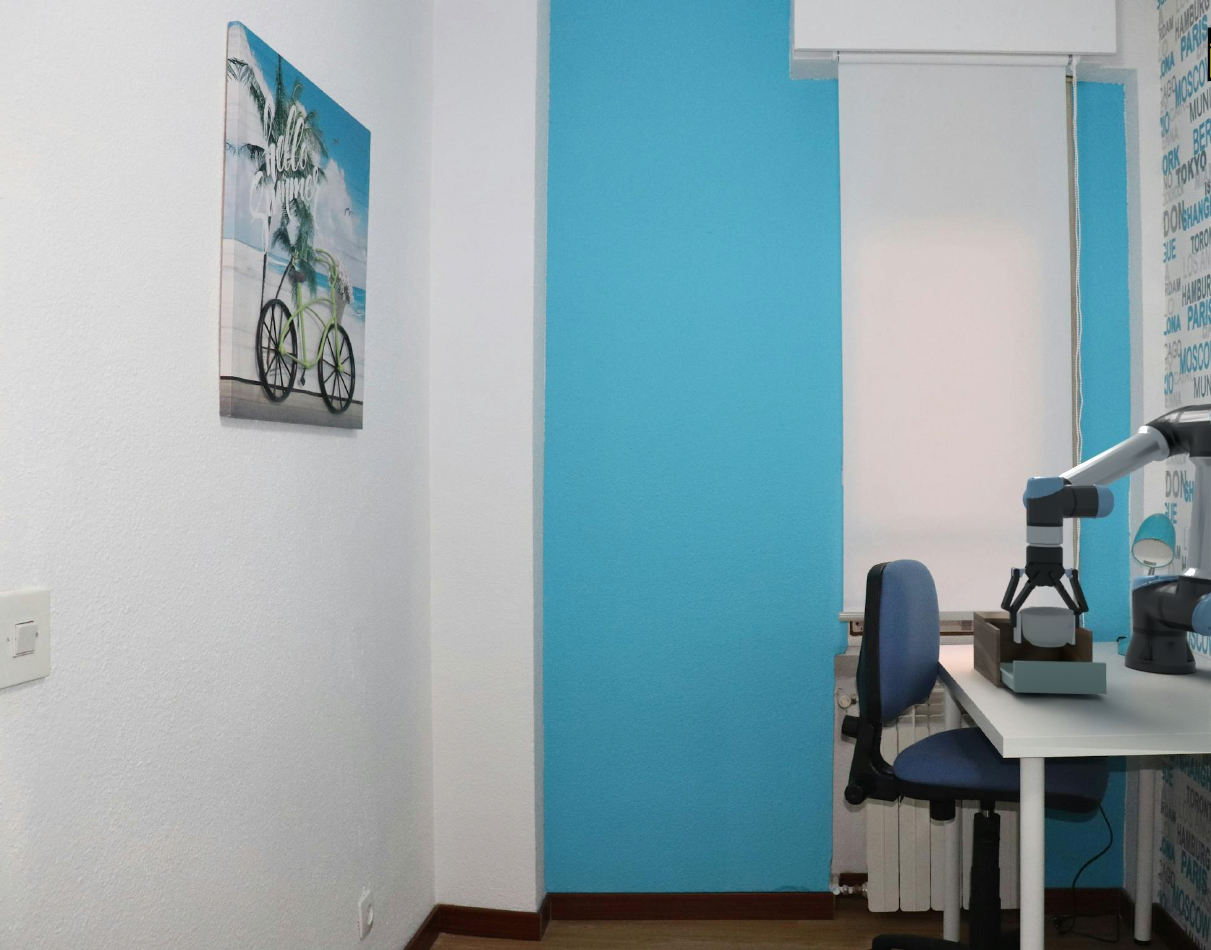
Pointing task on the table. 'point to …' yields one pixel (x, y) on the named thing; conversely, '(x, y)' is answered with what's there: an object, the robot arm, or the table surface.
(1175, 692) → the table surface
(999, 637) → the cubby
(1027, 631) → the teacup
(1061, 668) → the drawer
